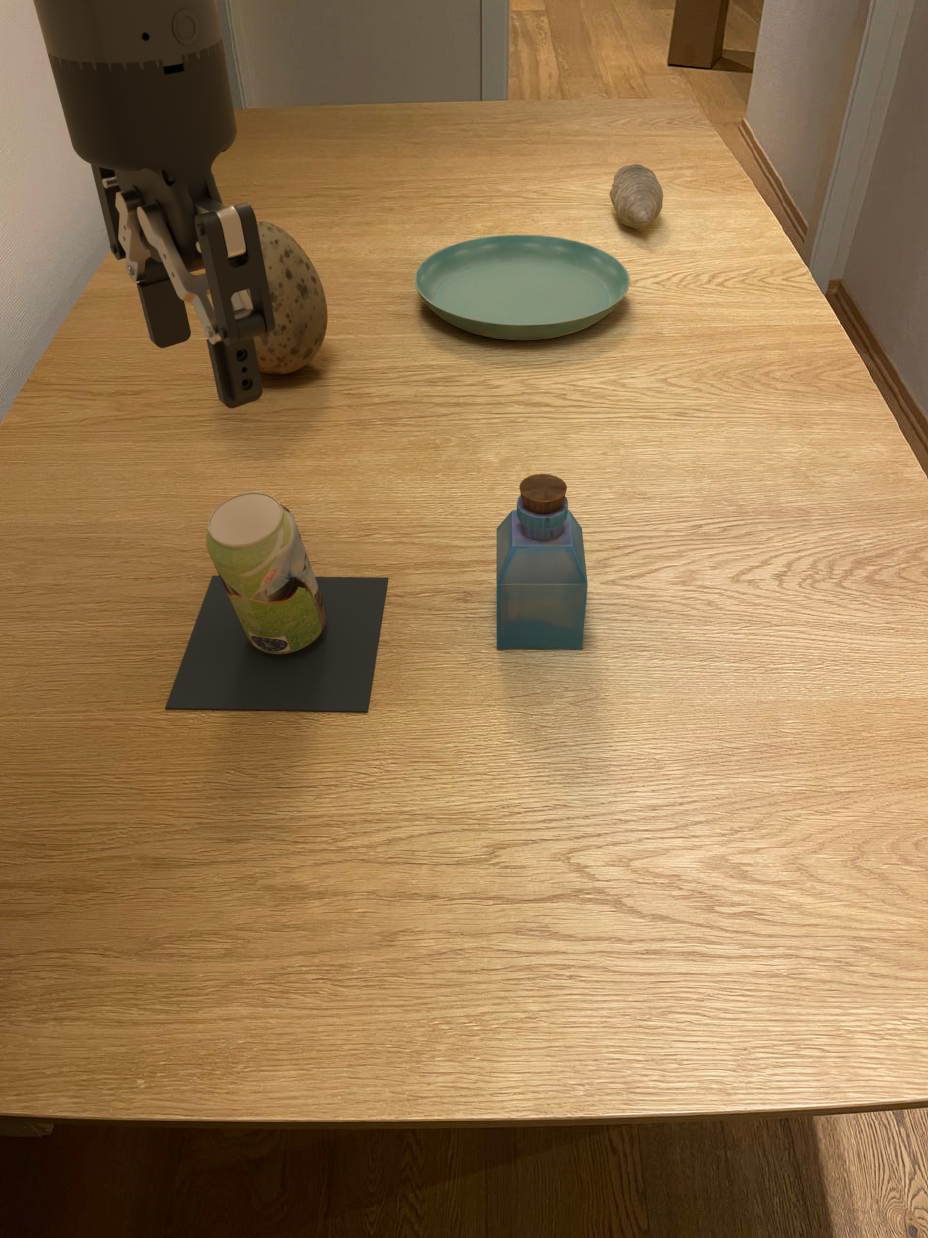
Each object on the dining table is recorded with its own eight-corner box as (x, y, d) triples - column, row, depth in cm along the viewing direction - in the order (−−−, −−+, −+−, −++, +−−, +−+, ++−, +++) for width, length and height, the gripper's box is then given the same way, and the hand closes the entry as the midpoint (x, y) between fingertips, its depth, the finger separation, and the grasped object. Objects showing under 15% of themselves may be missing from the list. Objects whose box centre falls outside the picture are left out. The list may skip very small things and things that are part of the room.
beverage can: (344, 618, 73) (324, 486, 65) (291, 683, 68) (263, 550, 60) (273, 596, 75) (246, 465, 67) (217, 658, 70) (180, 526, 62)
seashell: (616, 222, 121) (631, 152, 118) (598, 225, 134) (611, 161, 131) (666, 231, 122) (682, 162, 119) (643, 233, 134) (657, 171, 132)
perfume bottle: (577, 592, 75) (586, 460, 67) (582, 649, 70) (593, 515, 62) (496, 592, 75) (496, 461, 67) (496, 648, 70) (496, 515, 62)
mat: (367, 712, 66) (367, 711, 66) (165, 709, 67) (165, 707, 67) (388, 578, 76) (388, 577, 76) (212, 577, 77) (212, 575, 77)
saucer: (608, 364, 101) (610, 334, 98) (387, 339, 106) (384, 310, 104) (641, 269, 117) (644, 241, 115) (450, 251, 123) (449, 224, 120)
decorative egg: (303, 334, 107) (283, 194, 97) (353, 373, 101) (336, 227, 90) (213, 363, 103) (182, 220, 92) (259, 406, 96) (230, 256, 86)
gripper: (-5, 19, 45) (91, 344, 56) (116, 80, 37) (201, 449, 48) (147, -3, 48) (209, 308, 59) (289, 49, 40) (332, 400, 51)
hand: (205, 370), depth 53 cm, fingers open, 8 cm apart
